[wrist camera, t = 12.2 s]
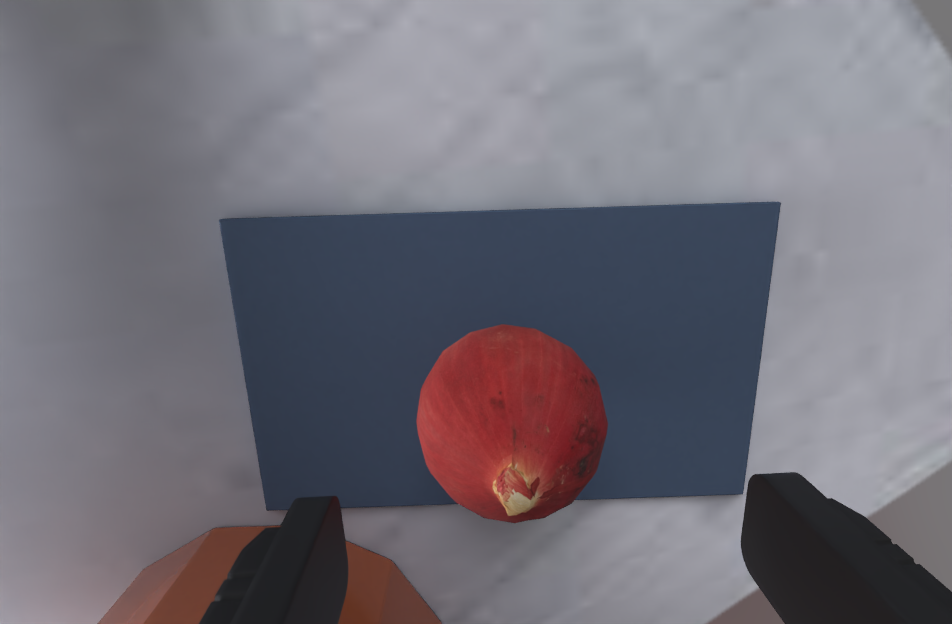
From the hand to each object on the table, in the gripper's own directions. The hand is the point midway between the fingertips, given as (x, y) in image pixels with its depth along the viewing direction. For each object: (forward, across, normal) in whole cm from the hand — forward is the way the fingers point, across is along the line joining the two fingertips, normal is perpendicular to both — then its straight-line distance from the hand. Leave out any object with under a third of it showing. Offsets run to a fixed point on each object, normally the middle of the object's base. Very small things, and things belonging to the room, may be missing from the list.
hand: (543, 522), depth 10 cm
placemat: (+10, 0, +1) cm, 10 cm away
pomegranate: (+10, 0, +1) cm, 10 cm away
